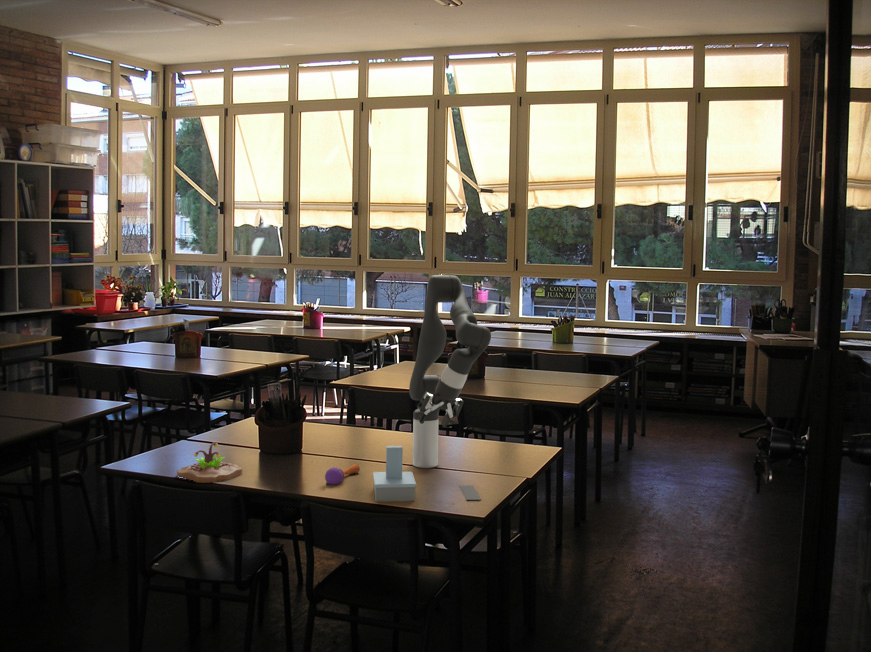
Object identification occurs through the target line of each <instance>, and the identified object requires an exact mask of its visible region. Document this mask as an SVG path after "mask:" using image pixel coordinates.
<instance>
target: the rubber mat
mask: <svg viewBox="0 0 871 652" xmlns="http://www.w3.org/2000/svg"><path fill="white" fill-rule="evenodd" d="M458 488H459V490H460V491H461V494H462V495H463V497H464V499H465V501H466V500H481V501H482V499H481V496H480V494H479V493H478V491H477V490H476V488H475V486H474V485H471V484H470V485H466V484H465V485H464V484H463V485H462V484H461V485H458Z"/></svg>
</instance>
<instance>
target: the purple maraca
mask: <svg viewBox="0 0 871 652" xmlns="http://www.w3.org/2000/svg"><path fill="white" fill-rule="evenodd" d="M359 472H360V466H359V464H357V463H353V464H352V465H350V466H348V467H347V468H346V469H344V470H342V469H341V468H338V467H334V466H333V467H331V468H329V469H327V470H326V472H325V475H324V479H325V482H326V483H327V485H331V486H332V485H333V486H334V485H335V486H336V485H339V484H341V483H343V480H344V478H345V476H346V475H353V474H354V473H355V474H358V473H359Z"/></svg>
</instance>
